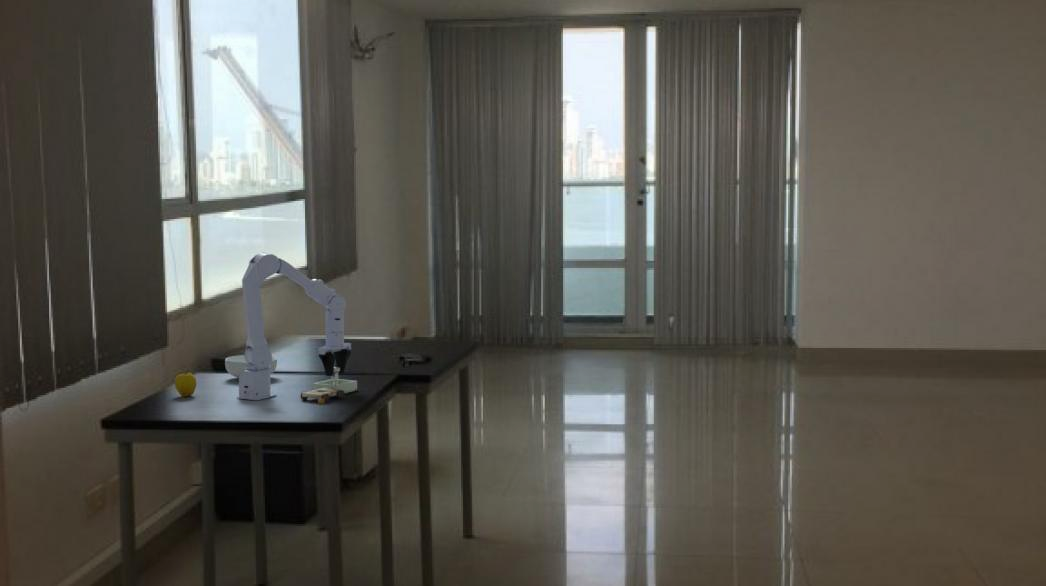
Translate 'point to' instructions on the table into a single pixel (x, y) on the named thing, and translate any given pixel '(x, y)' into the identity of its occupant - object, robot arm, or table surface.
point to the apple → (185, 384)
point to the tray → (342, 384)
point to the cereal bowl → (243, 365)
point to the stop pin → (335, 376)
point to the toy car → (322, 394)
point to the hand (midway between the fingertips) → (335, 374)
